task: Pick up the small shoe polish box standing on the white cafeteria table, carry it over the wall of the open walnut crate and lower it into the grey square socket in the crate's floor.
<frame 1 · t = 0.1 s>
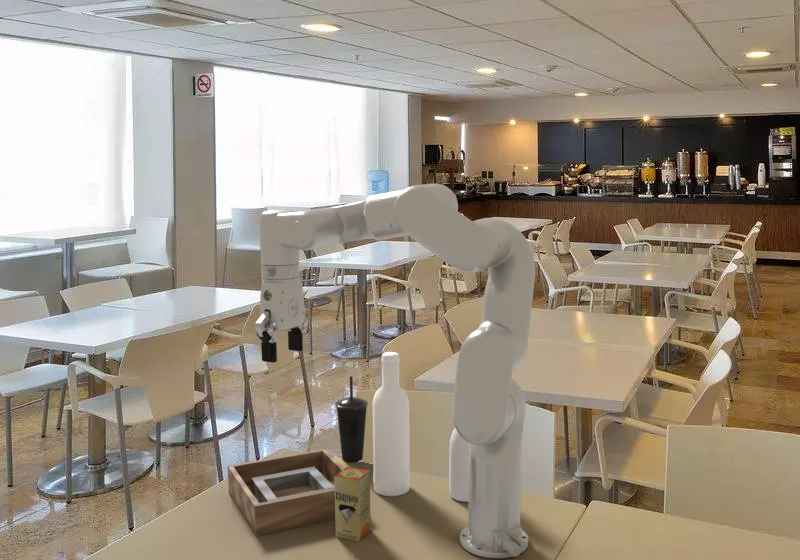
hand: (282, 355, 160), 31 cm above the table, tool pointing down, fingers open, 9 cm apart
walnut crate: (293, 502, 165), on the table
bottle: (391, 489, 171), on the table
shoe polish box: (353, 534, 151), on the table
drinking cup: (352, 459, 188), on the table
milk bottle: (467, 496, 167), on the table
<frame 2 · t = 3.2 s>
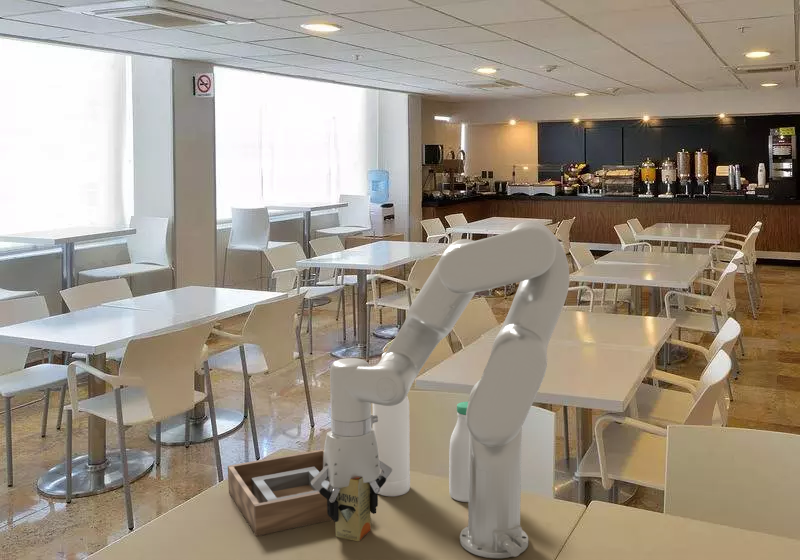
hand: (352, 514, 150), 4 cm above the table, tool pointing down, fingers closed on shoe polish box, 7 cm apart
shoe polish box: (353, 534, 151), on the table, touching gripper
everything else where it was.
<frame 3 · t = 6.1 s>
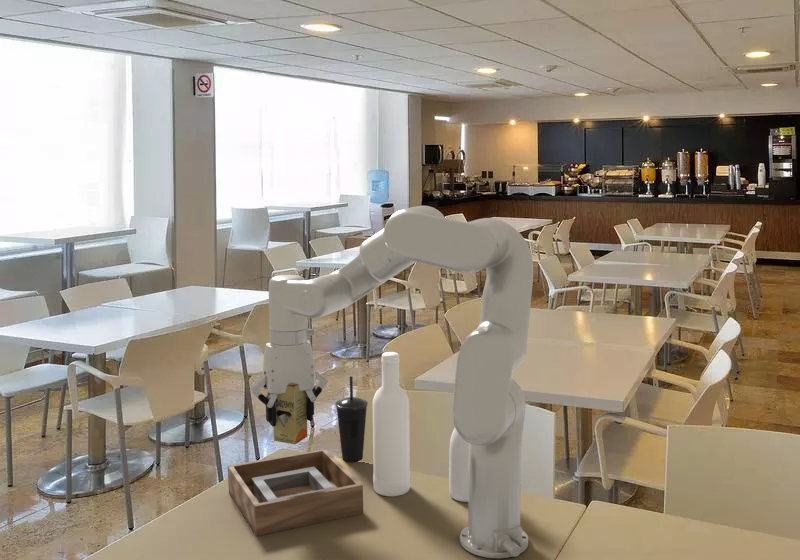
hand: (290, 421, 162), 18 cm above the table, tool pointing down, fingers closed on shoe polish box, 7 cm apart
shoe polish box: (290, 439, 163), point 14 cm above the table, touching gripper
everything else where it was.
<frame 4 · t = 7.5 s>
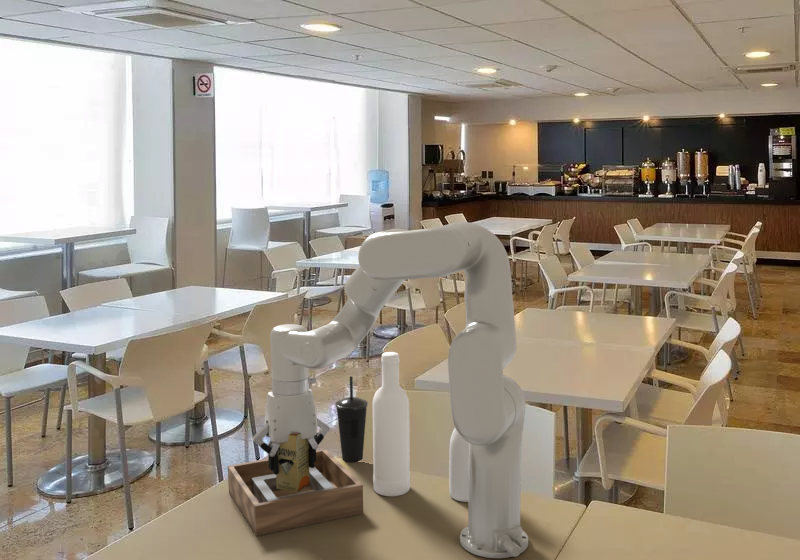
hand: (292, 468, 163), 7 cm above the table, tool pointing down, fingers closed on shoe polish box, 7 cm apart
shoe polish box: (293, 486, 164), point 3 cm above the table, touching gripper
everything else where it was.
when the fingers open (5 cm above the table, at t = 8.9 s): shoe polish box stays where it is, resting on walnut crate.
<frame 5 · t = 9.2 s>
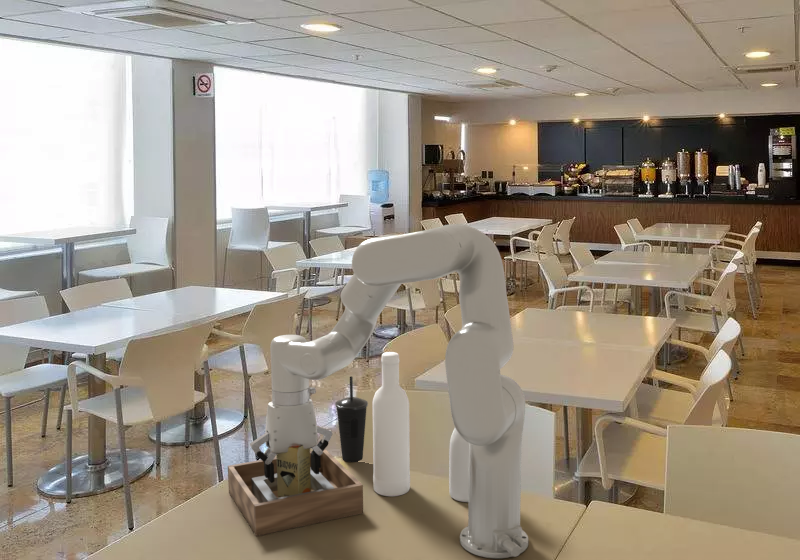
hand: (293, 476, 164), 6 cm above the table, tool pointing down, fingers open, 9 cm apart
shoe polish box: (294, 499, 164), point 1 cm above the table, touching walnut crate
everything else where it was.
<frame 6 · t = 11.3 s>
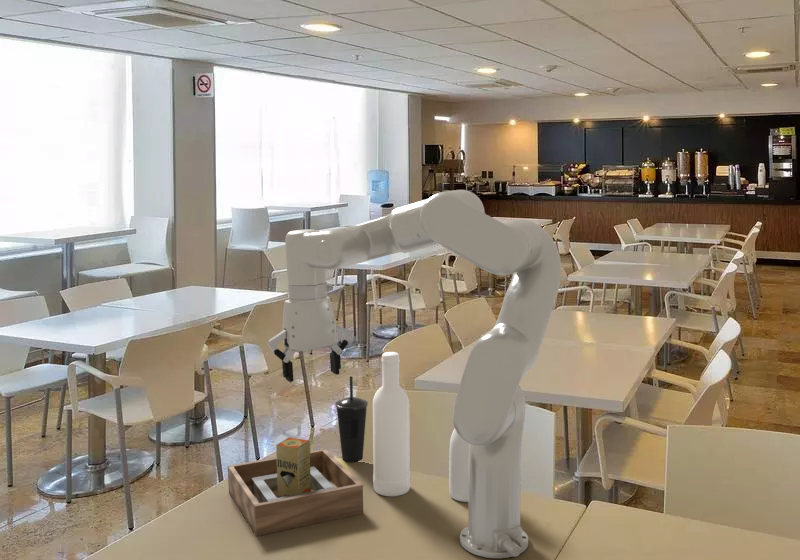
hand: (312, 376, 159), 27 cm above the table, tool pointing down, fingers open, 9 cm apart
nothing on the table moved.
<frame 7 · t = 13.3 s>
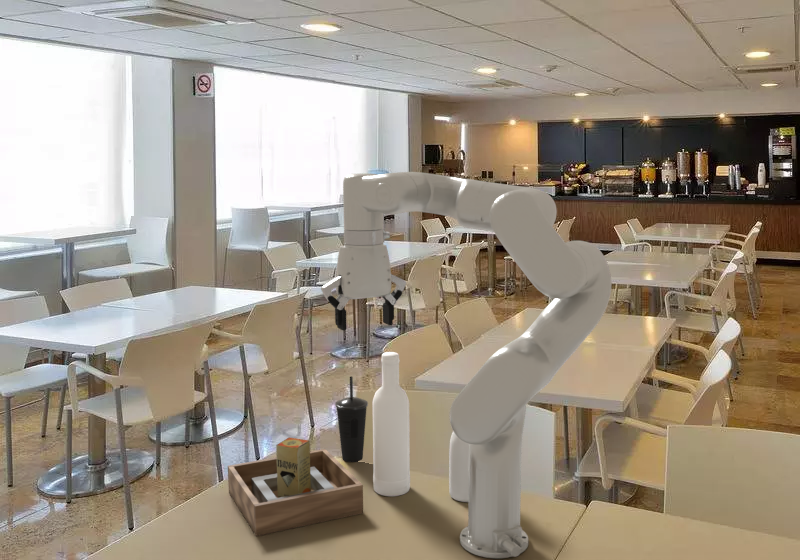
hand: (365, 326, 154), 38 cm above the table, tool pointing down, fingers open, 9 cm apart
nothing on the table moved.
at the end: shoe polish box 0.2 cm off-centre on the walnut crate, point 0.8 cm above the walnut crate's base; shoe polish box tilted 0°; the gripper is holding nothing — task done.
